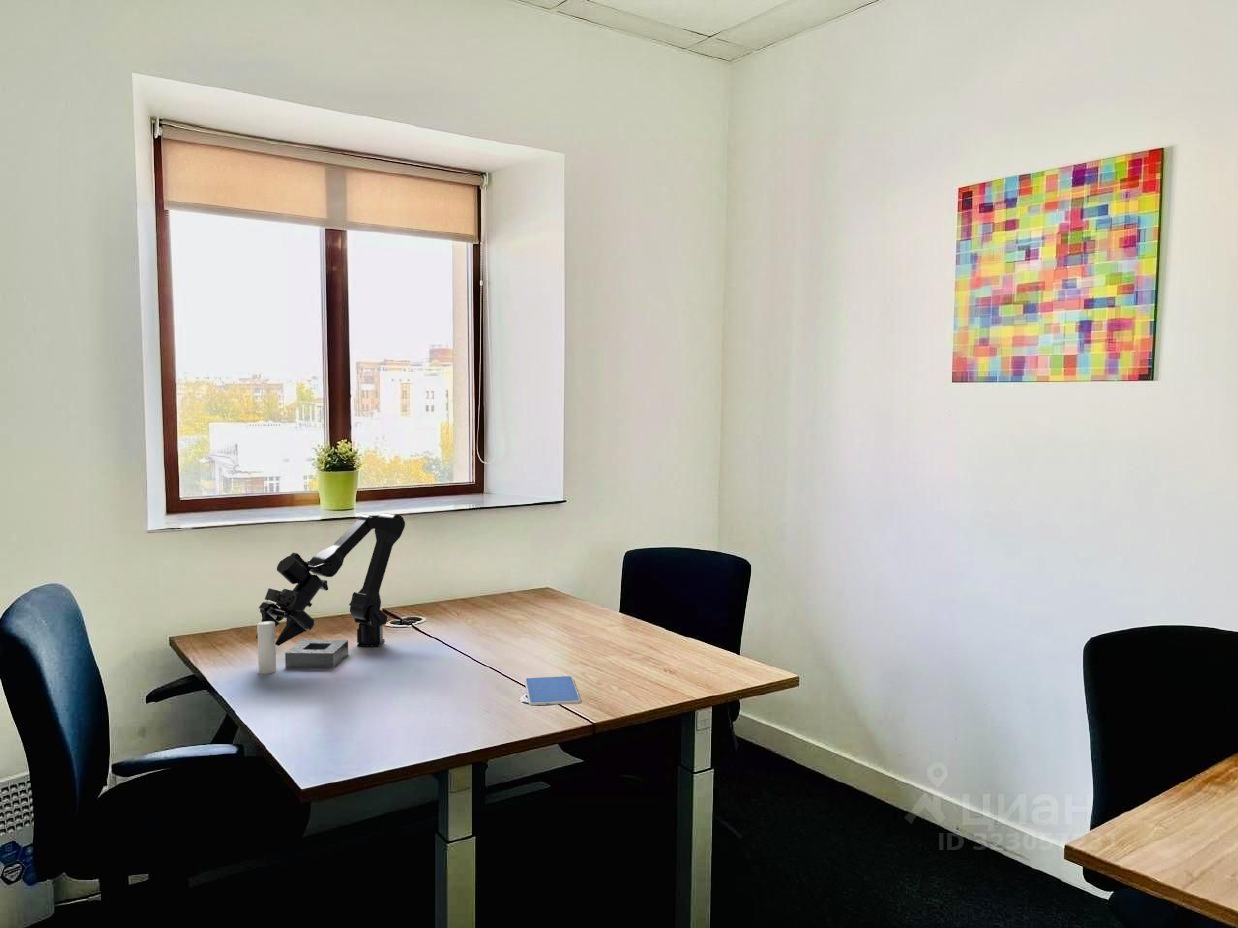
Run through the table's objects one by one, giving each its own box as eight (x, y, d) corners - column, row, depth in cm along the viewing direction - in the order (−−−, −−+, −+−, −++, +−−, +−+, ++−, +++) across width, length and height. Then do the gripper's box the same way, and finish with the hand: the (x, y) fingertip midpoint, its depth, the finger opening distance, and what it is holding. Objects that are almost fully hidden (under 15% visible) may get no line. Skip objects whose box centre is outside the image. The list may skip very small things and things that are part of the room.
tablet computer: (581, 705, 221) (581, 699, 221) (528, 707, 219) (528, 702, 219) (572, 680, 240) (572, 675, 240) (524, 682, 238) (524, 677, 238)
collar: (348, 653, 261) (348, 640, 261) (333, 667, 248) (333, 653, 248) (302, 653, 261) (302, 639, 261) (285, 667, 248) (285, 652, 248)
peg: (278, 668, 247) (277, 621, 246) (272, 673, 242) (271, 625, 241) (262, 668, 247) (261, 621, 246) (255, 673, 242) (254, 625, 241)
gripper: (264, 572, 253) (227, 619, 245) (303, 581, 241) (266, 630, 233) (290, 595, 260) (255, 642, 252) (330, 605, 248) (294, 654, 240)
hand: (266, 641), depth 244 cm, fingers open, 9 cm apart
